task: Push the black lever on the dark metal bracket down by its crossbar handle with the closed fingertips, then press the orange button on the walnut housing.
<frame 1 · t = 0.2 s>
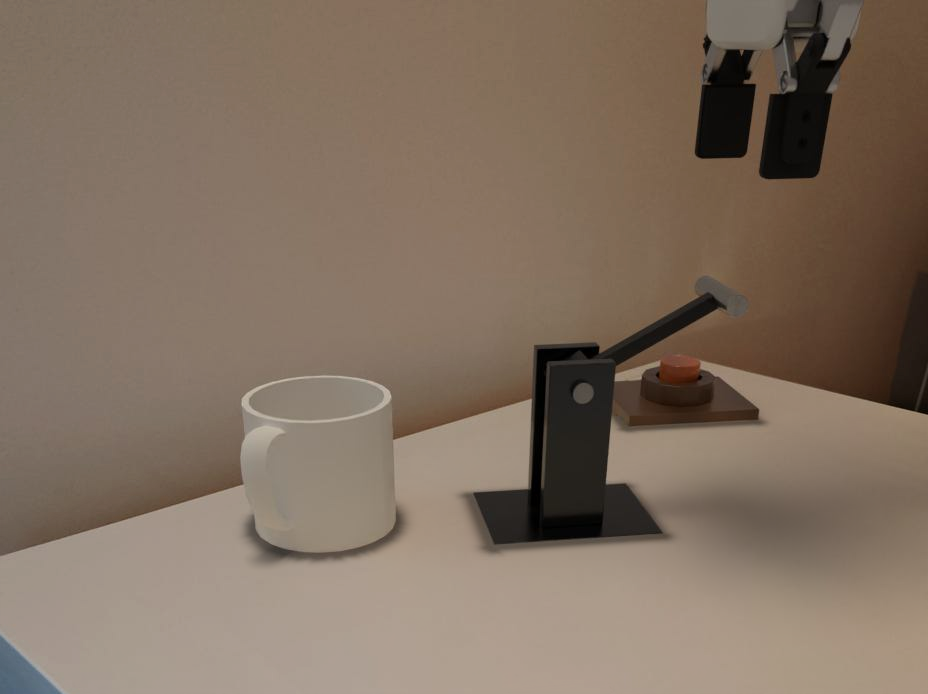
hand: (751, 167, 58), 24 cm above the table, tool pointing down, fingers open, 9 cm apart
bracket: (563, 527, 73), on the table
mug: (317, 546, 71), on the table
button box: (673, 417, 94), on the table
lever: (640, 341, 67), point 13 cm above the table, hinge at 28.0°
button: (679, 370, 91), point 4 cm above the table, slide at 0.1 cm
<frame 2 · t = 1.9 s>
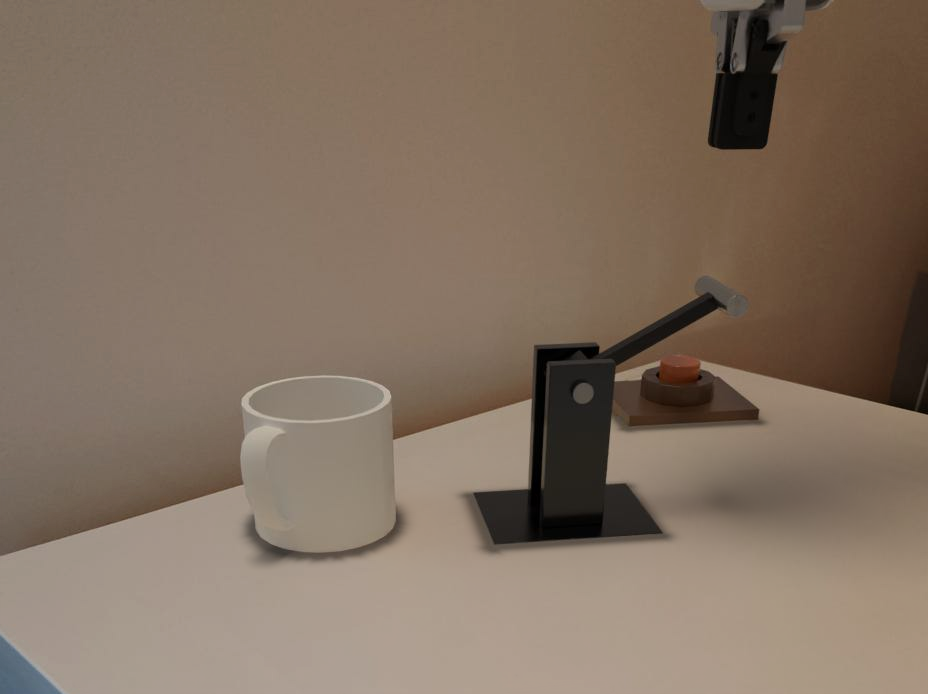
hand: (736, 147, 61), 25 cm above the table, tool pointing down, fingers closed
nothing on the table moved.
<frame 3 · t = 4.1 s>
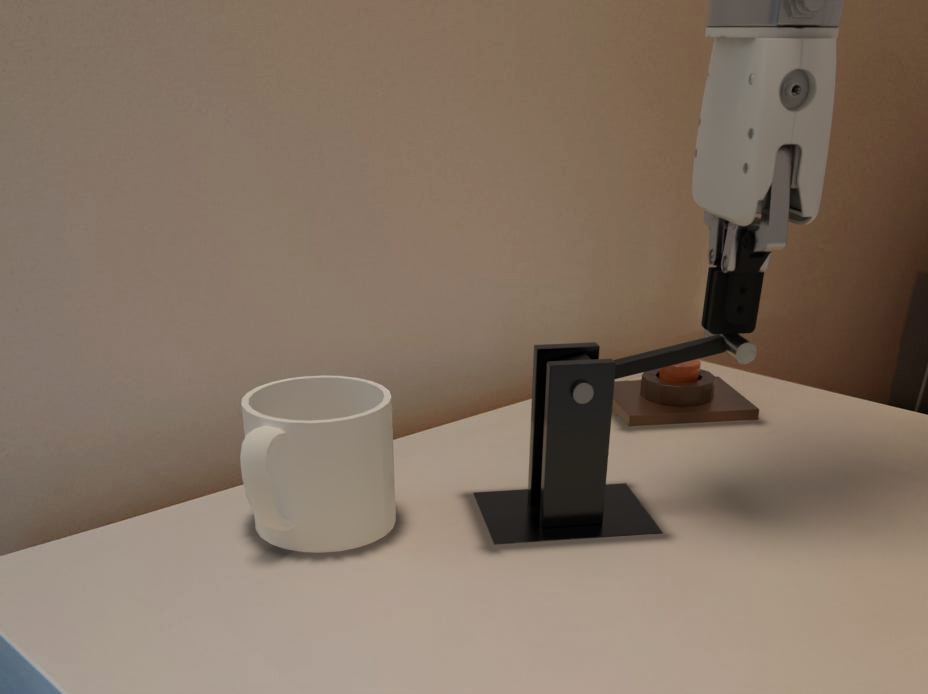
hand: (727, 330, 67), 14 cm above the table, tool pointing down, fingers closed
lever: (646, 361, 68), point 12 cm above the table, hinge at 11.2°, touching gripper
everything else where it was.
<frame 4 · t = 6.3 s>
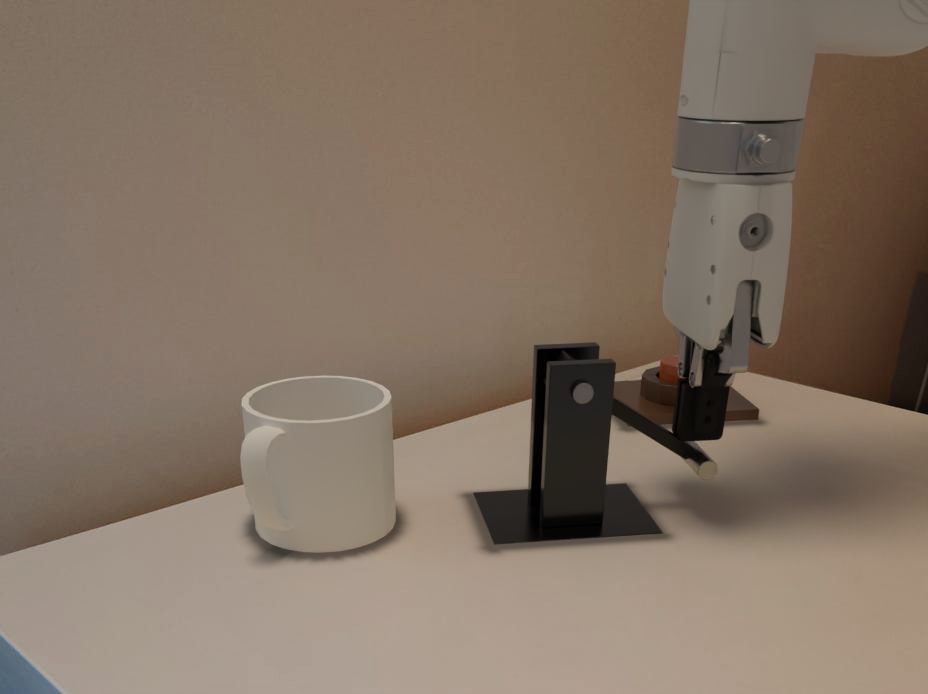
hand: (696, 436, 71), 7 cm above the table, tool pointing down, fingers closed
lever: (630, 416, 70), point 8 cm above the table, hinge at -32.4°, touching gripper
everything else where it was.
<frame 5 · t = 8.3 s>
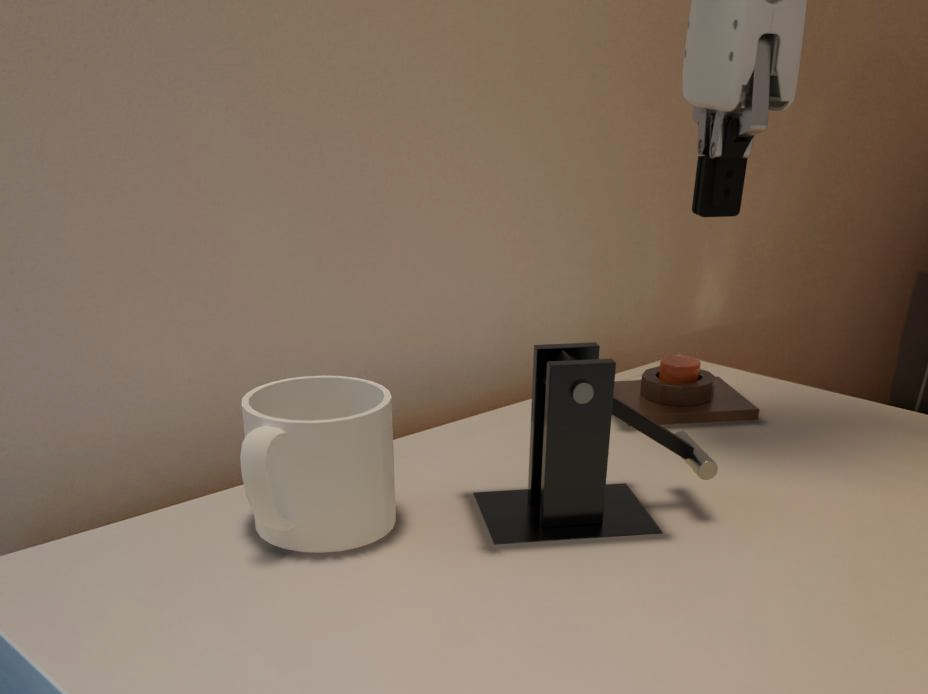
hand: (715, 214, 75), 19 cm above the table, tool pointing down, fingers closed
lever: (630, 416, 70), point 8 cm above the table, hinge at -32.4°
everything else where it was.
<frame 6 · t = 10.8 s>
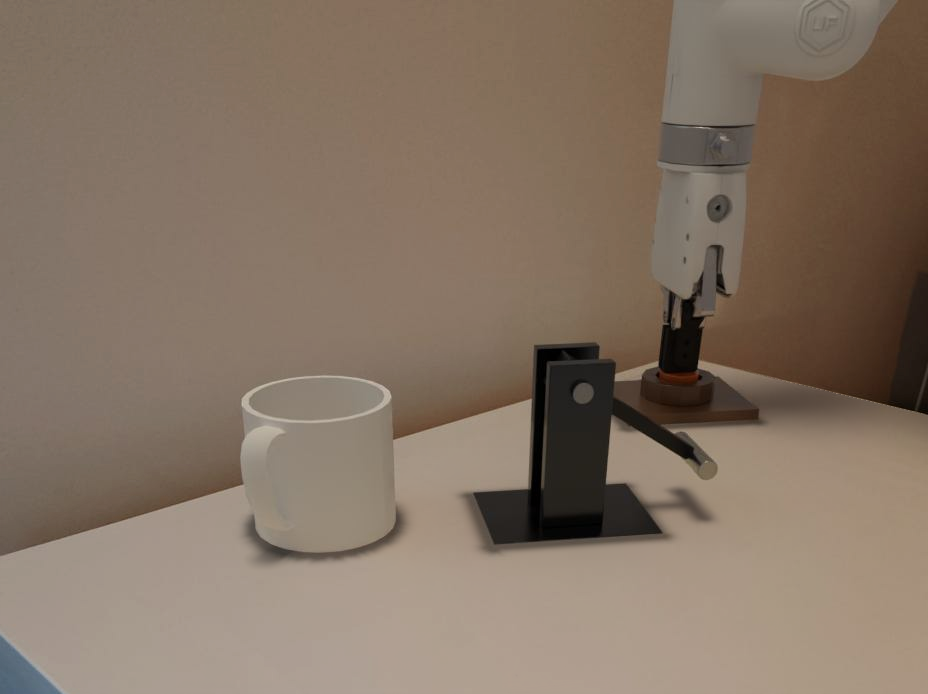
hand: (677, 370, 91), 5 cm above the table, tool pointing down, fingers closed
button: (678, 380, 92), point 4 cm above the table, slide at -0.8 cm, touching gripper
everything else where it was.
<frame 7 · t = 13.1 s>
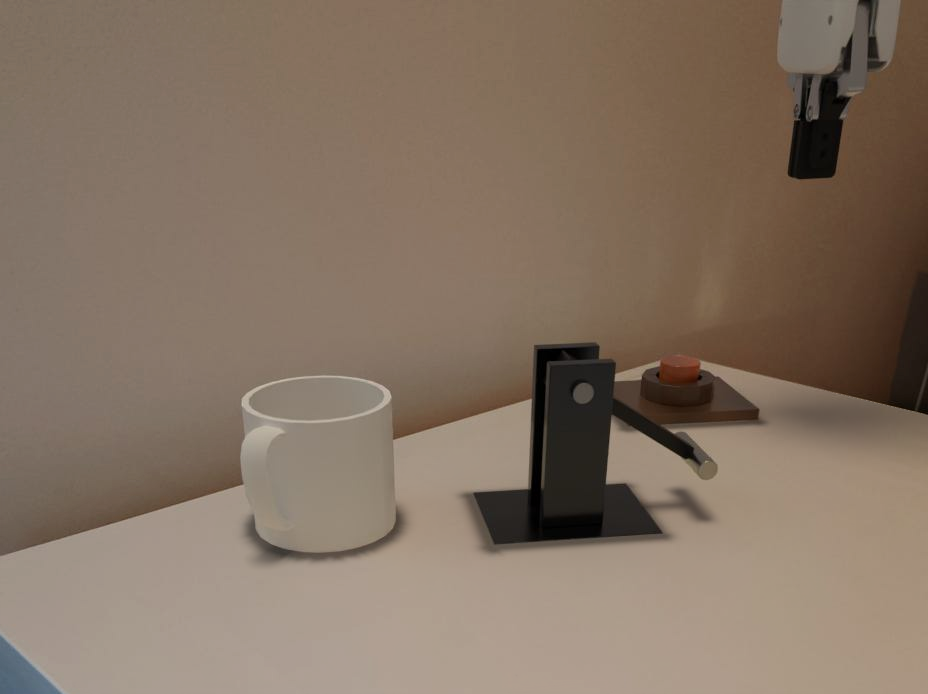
hand: (810, 176, 78), 21 cm above the table, tool pointing down, fingers closed
button: (679, 370, 91), point 4 cm above the table, slide at 0.1 cm
everything else where it was.
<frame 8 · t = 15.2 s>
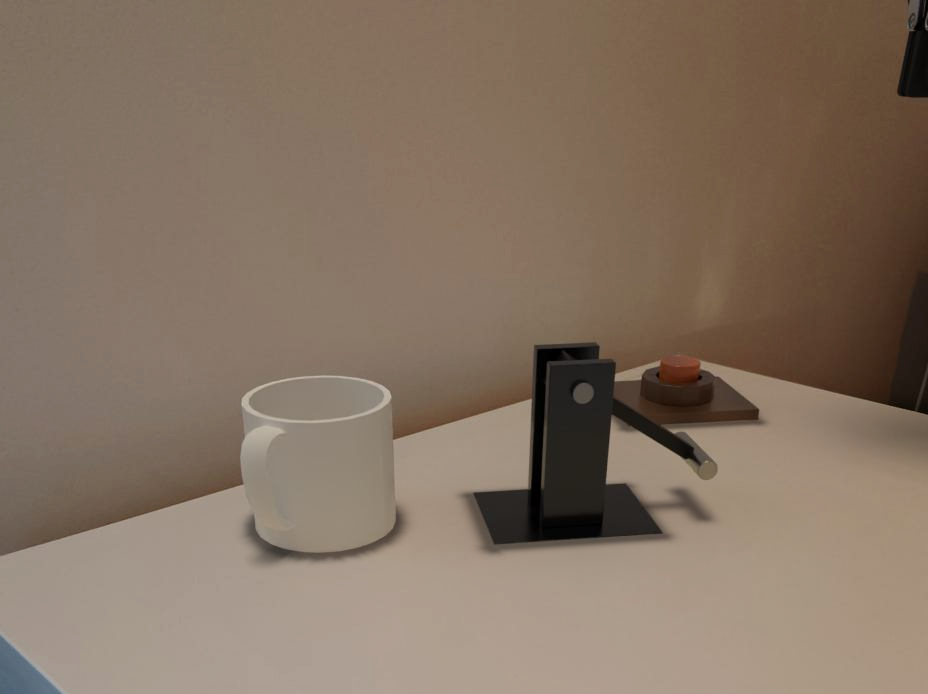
hand: (922, 96, 71), 27 cm above the table, tool pointing down, fingers closed
nothing on the table moved.
at the end: lever at -32° (first picture: +28°); button pushed in 1.1 cm at the most during the clip, back to where it started at the end; button slide at 0.1 cm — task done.
